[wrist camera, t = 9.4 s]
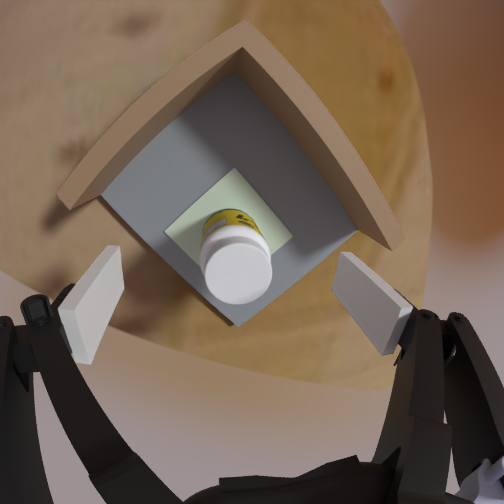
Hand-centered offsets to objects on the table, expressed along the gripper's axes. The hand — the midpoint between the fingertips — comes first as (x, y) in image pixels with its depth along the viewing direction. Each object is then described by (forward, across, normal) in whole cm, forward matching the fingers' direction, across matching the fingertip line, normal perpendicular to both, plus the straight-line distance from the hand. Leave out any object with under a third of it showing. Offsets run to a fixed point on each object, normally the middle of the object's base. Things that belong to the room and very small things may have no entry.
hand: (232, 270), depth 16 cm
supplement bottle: (+9, +1, -1) cm, 9 cm away
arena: (+10, +1, +3) cm, 10 cm away
